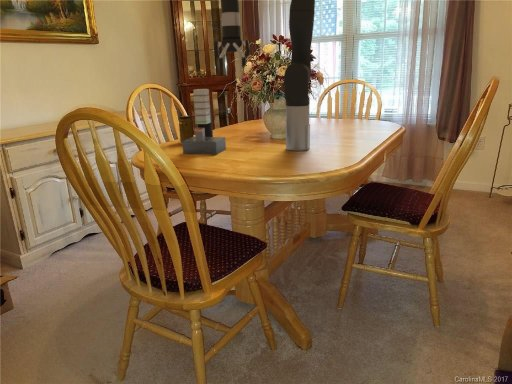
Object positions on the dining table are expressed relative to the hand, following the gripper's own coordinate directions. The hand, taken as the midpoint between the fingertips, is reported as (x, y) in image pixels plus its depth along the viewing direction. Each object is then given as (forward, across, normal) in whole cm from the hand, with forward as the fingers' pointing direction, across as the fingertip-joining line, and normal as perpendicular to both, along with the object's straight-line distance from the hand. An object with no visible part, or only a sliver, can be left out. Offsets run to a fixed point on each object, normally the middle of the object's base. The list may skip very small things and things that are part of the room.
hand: (232, 67), depth 170 cm
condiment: (+32, +22, -7) cm, 40 cm away
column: (+21, +11, +15) cm, 27 cm away
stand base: (+32, +11, +14) cm, 37 cm away
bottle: (+32, +16, -12) cm, 38 cm away
